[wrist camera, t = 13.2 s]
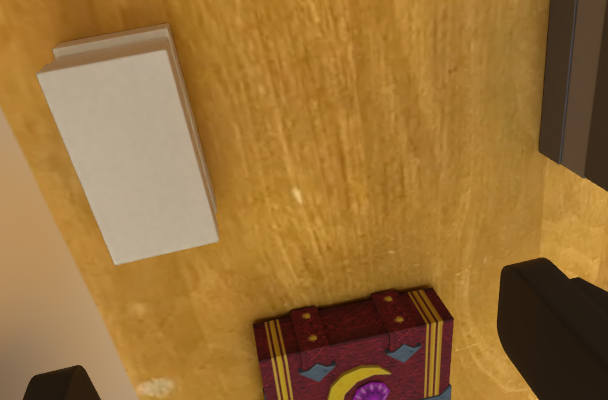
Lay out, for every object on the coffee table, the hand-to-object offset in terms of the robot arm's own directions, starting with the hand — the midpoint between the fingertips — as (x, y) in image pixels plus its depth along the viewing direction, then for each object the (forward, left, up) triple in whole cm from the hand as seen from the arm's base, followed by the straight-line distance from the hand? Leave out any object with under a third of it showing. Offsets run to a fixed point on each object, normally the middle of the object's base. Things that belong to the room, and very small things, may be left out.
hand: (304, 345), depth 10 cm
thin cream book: (+4, -5, -20) cm, 21 cm away
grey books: (0, +23, -23) cm, 33 cm away
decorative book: (+24, +10, -24) cm, 35 cm away
